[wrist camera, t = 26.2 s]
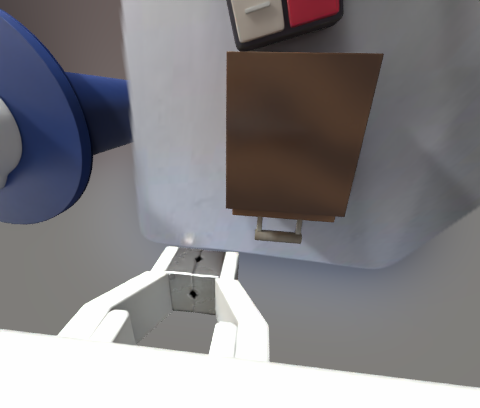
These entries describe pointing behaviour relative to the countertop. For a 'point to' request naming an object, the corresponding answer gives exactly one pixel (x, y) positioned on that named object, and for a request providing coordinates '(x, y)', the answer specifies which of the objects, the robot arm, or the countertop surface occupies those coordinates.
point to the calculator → (279, 20)
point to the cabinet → (296, 128)
